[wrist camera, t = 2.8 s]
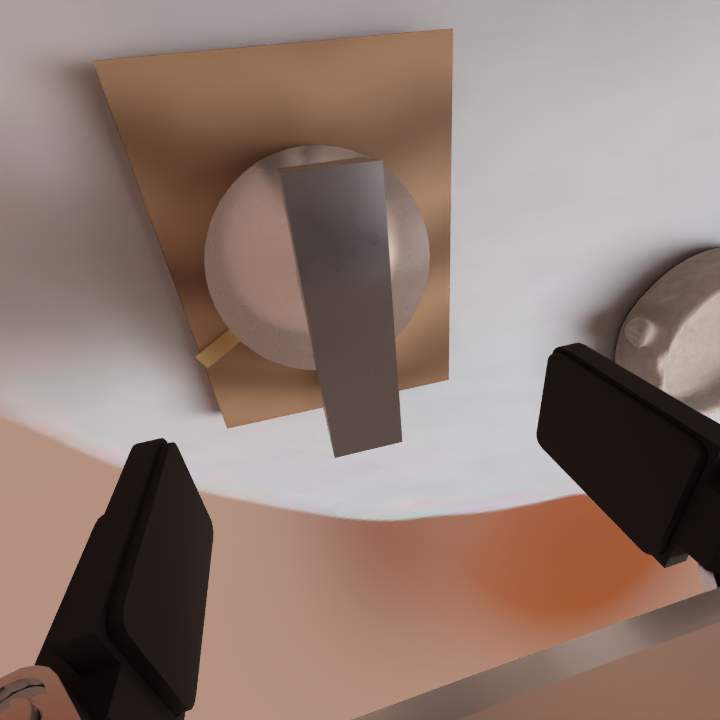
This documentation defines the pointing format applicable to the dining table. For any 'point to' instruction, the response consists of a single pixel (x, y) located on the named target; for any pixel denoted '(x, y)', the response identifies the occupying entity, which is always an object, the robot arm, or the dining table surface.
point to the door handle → (323, 278)
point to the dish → (678, 333)
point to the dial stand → (273, 134)
